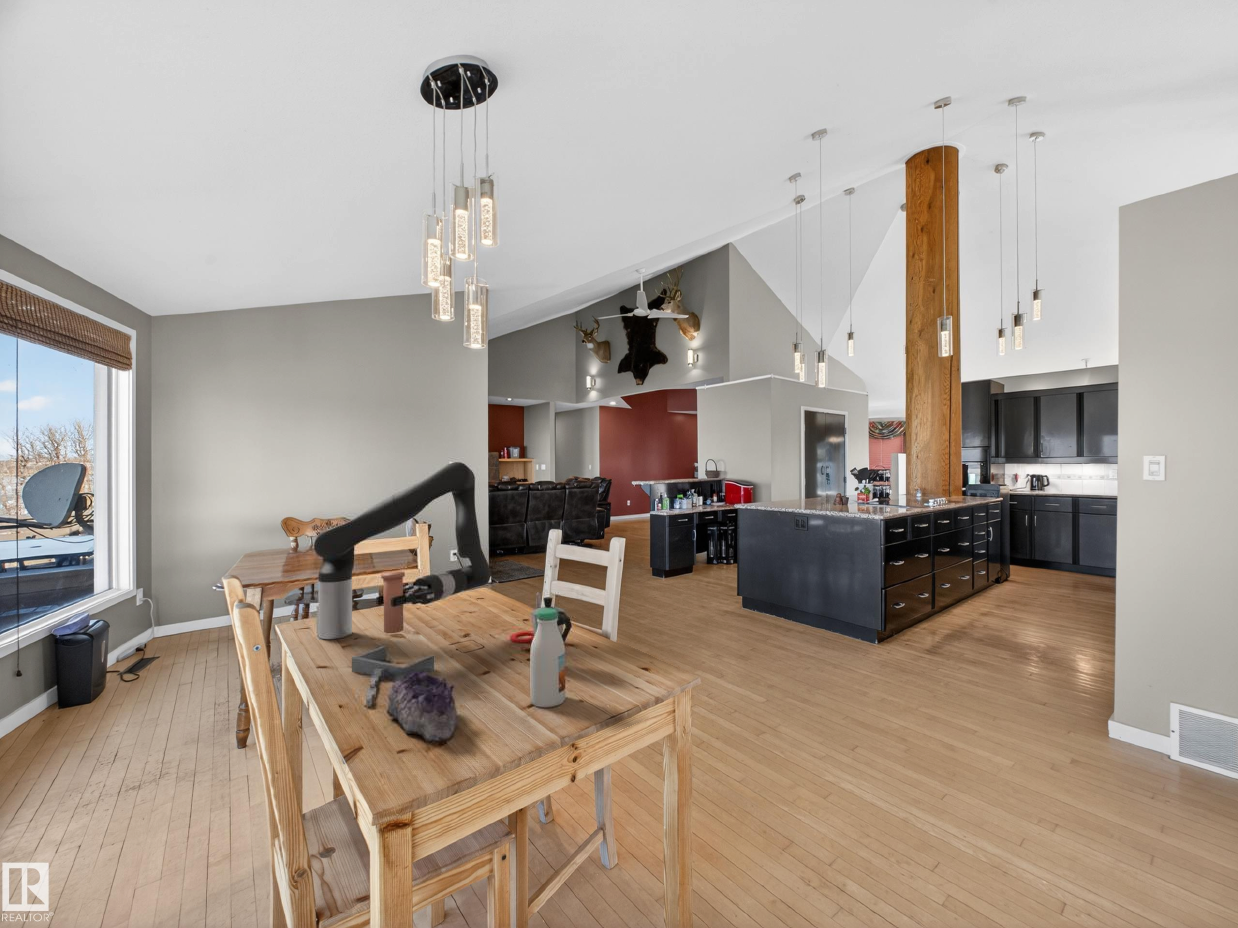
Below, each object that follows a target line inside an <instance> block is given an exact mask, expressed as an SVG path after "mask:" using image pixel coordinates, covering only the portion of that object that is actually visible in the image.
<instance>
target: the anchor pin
mask: <svg viewBox="0 0 1238 928" xmlns="http://www.w3.org/2000/svg"><path fill="white" fill-rule="evenodd" d="M405 576H406V574H405V571H397V570H396V571H387V572H383V573H380V578H381V579H382V580H383V581H382V583H383V589H382V590H383V593H382V594H384V604H383V632H384V633H385V634H397V633H400V632H402V631H404V604H403V605H399V606H396V607H392V606H391V599H392V598H394V597H397V596H401V595H403V587H404V579H403V578H404V577H405Z"/></svg>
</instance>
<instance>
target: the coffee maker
mask: <svg viewBox="0 0 1238 928" xmlns="http://www.w3.org/2000/svg"><path fill="white" fill-rule="evenodd" d="M552 602H553V597H552V596H551V597H549V596H547V597H543V603H544V606H541V608H538V609H537V608H536V609H532V611H530V615H531V616H530V617H531V622H532V628H533V629H532V631H534V636H535V634H536V631H537V628H538V621H537V611H539V610H541V609H556V610H557V611H558V621H557V626H558V630H559V632H560V634H561V637H562V639H563V642H564V643H565V642H566V639H567V637H568V635H569V634H570V631H571V629H572V627H573V625H572V621H571V619H570V617H569V616H568V615H567V614H566V611H565V610H564V609H563V608H561V607H555V606H552V604H553V603H552ZM564 625H565V626H564Z"/></svg>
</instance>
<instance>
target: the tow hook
mask: <svg viewBox="0 0 1238 928" xmlns="http://www.w3.org/2000/svg"><path fill="white" fill-rule="evenodd" d="M535 604H536V609H538V608H542V605H541V604H542V601H541V597H540V592H536V603H535ZM522 636H529V637H525V638H521V637H522ZM530 636H531V637H530ZM519 637H520V638H519ZM533 638H534V630H526V631H517V632H515V633H512V634H511V635H510V636H509V641H511V642H513V643H521V644H523V643H530V642H531V643H532V641H533Z"/></svg>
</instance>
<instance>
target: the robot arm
mask: <svg viewBox="0 0 1238 928" xmlns="http://www.w3.org/2000/svg"><path fill="white" fill-rule="evenodd" d="M475 482H476V477H475V473H474V471H473V470H472V469H470V467H468V465H466V464H465V463H463V462H461V461H454V462H451V463H448V464H446V465H444V466H443V467H442V468H439V470H437V471H435V472H434V473H431V475H429V476H427V477H426V478H425V479H423V480H421V481H419V482H416V483H415V484H413V485H410V486H408V487H406V488H404V489H403V490H401V491H398V492H396V493H395V494H393V495H391V496H388V497H387V498H385V499H383V500H381V501H379V502H378V503H376V504H375V505H373V506H371V507H370V508H368V509H367V510H365V511H363V512H362V513H360V514H359V515H357V516H356V517H354V518H352V519H350V520H348V521H345V522H344V523H340V524H339V525H336V526H334V527H331V528H329V529H325V530H323V531H322V532H320V533H319V534H318V535H317V536H316V538H315V540H314V544H313V550H314V552H315V554H316V555H317V556H319V557H320V558H322V564H321V567H320V569H319V572H318V574H317V575H318V603H317V604H316V636H317V637H318V638H319V639H322V640H335V639H341V638H345V637H348V636H350V635H351V634H352V633H353V578H352V577H353V569H354V565H355V546H356V545H358V544H360V543H361V542H364V541H365V540H367V539H370V538H372V537H375V536H377V535H380V534H382V533H385V532H388V531H390V530H392V529H395V528H397V527H399V526H402V525H403V524H404V523H407V522H408V521H410V520H412V519H414V517H416V516H418V515H419V514H420V513H421V512H422V511H423V510H424V509H425V508H426V507H428V506H429V504H431V503H432V502H434V500H436V499H439V498H440V497H443V496H444V495H447V494H450V493H451V495H452V498H453V501H454V505H455V506H454V507H455V528H454V529H455V531H454V532H455V540H456V547H457V548H456V549H457V553H458V556H459V557H460V558H462V559H468V560H469V562H470V565H465V566H463V567H461V568H458V569H451V570H447V571H443V572H442V571H441V572H436V573H432V574H428V575H423V576H419V577H417V578H416V579H415V581H413V584H409V585H406V586H403V595H401V596H397V597H394V598H392V599H391V606H392V607H396V606H399V605H403V606H404V605H409V604H411V605H414V606H415V605H417V604H420V605H423V606H424V605H425V606H426V605H428V604H431V603H435V602H439V601H440V600H444V599H446V598H448V597H451V596H453V595H457V594H459V593H461V592H465V591H467V590H468V591H469V590H471V589H475V588H480V587H483V586H486V585H488V583H489V582H490V579H491V577H492V575H491V574H492V572H491V568H490V565H489V562H488V561H487V558H486V557H485V554H484V552H483V549H482V544H481V537H480V533H479V532H480V531H479V524H478V519H477V511H476V501H475V500H476V499H475V497H476V493H475V491H476V483H475ZM375 602H376V605H378V606H380V605H384V593H382V594H380V595H377V596H376V600H375Z"/></svg>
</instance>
